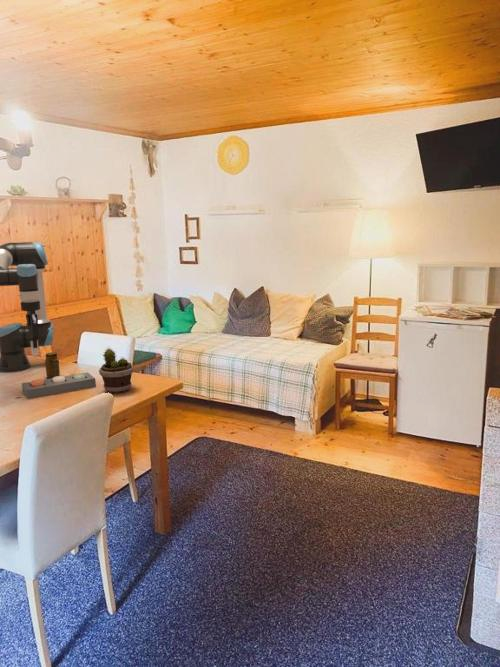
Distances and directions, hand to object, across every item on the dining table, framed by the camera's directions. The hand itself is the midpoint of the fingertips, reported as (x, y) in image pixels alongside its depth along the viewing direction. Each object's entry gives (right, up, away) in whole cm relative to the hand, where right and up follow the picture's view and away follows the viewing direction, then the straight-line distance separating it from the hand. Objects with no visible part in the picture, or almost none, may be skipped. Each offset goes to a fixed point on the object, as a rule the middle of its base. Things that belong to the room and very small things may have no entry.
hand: (35, 354), depth 214 cm
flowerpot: (+34, -16, +6) cm, 38 cm away
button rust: (0, -15, +3) cm, 15 cm away
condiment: (-3, -13, +26) cm, 29 cm away
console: (+7, -16, +8) cm, 19 cm away
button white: (+7, -14, +8) cm, 18 cm away
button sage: (+15, -14, +13) cm, 24 cm away
